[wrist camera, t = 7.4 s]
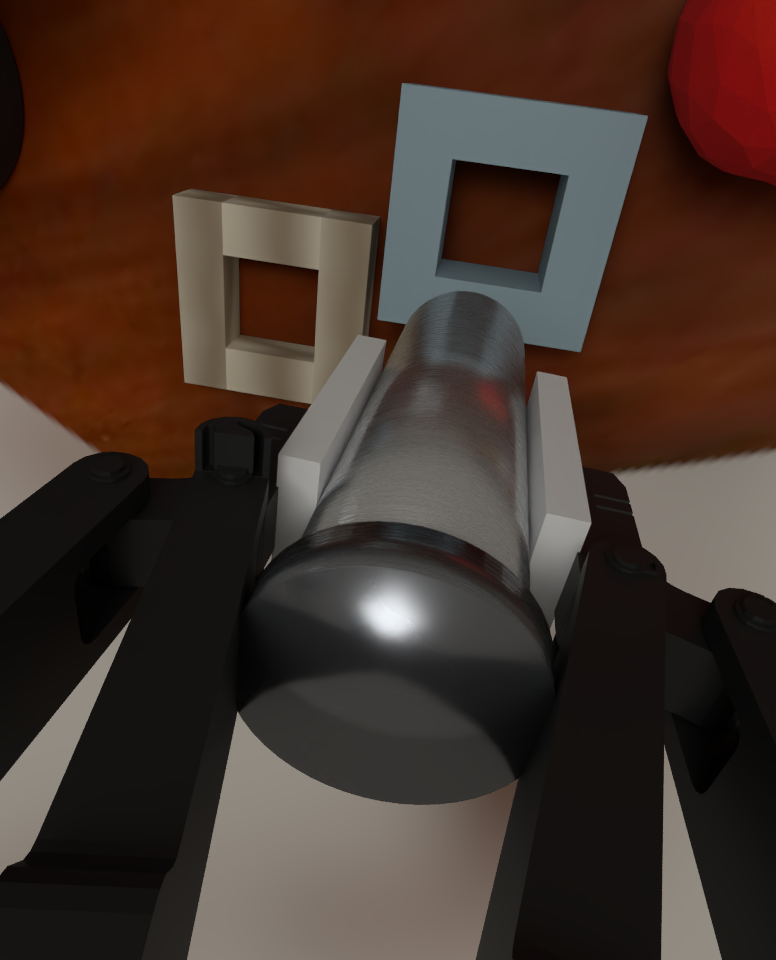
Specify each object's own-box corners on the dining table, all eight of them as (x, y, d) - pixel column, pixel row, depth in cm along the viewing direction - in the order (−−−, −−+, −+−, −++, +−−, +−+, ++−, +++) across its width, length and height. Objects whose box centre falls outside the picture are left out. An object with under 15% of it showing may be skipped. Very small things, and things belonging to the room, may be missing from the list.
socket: (388, 298, 38) (377, 319, 35) (412, 83, 32) (402, 83, 29) (573, 328, 38) (580, 352, 34) (633, 112, 32) (647, 116, 28)
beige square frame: (200, 367, 43) (184, 382, 41) (191, 188, 37) (172, 195, 35) (362, 395, 42) (355, 411, 40) (380, 216, 36) (372, 224, 34)
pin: (381, 403, 22) (221, 760, 10) (402, 267, 20) (225, 531, 8) (513, 431, 22) (508, 834, 10) (551, 297, 19) (606, 618, 7)
